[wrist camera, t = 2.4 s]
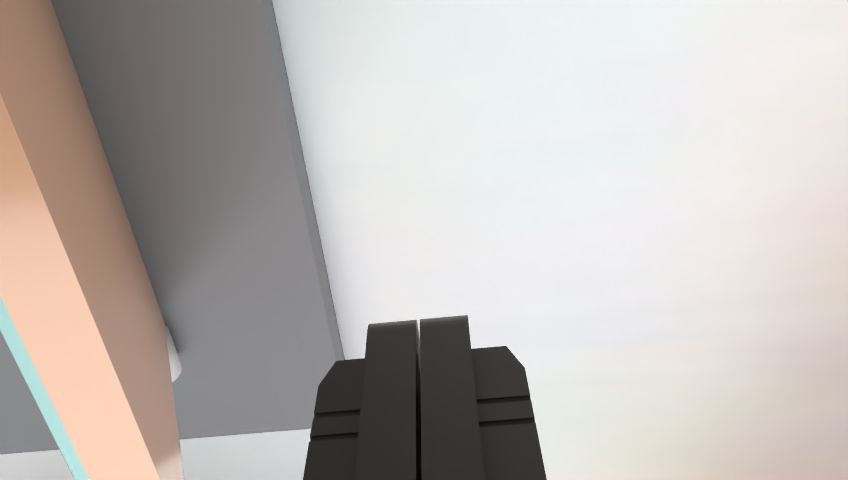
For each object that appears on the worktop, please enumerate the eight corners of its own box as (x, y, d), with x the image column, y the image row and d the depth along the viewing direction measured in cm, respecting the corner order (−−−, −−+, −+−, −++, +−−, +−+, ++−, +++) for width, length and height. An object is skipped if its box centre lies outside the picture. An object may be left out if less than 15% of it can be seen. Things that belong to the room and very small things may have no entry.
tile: (0, -144, 18) (-70, -136, 17) (-88, -117, 10) (-221, -100, 9) (164, 322, 25) (118, 335, 25) (194, 563, 17) (126, 589, 16)
